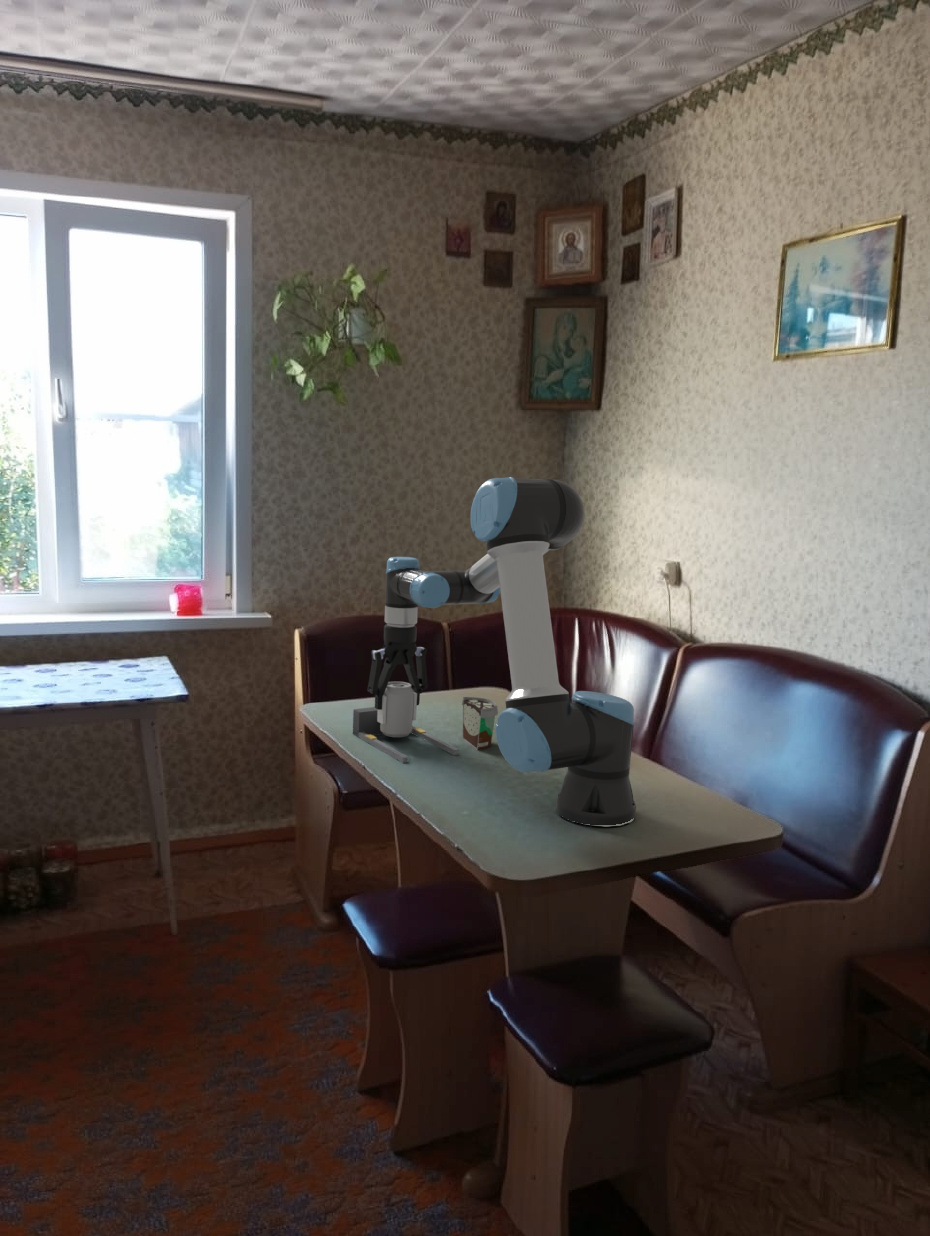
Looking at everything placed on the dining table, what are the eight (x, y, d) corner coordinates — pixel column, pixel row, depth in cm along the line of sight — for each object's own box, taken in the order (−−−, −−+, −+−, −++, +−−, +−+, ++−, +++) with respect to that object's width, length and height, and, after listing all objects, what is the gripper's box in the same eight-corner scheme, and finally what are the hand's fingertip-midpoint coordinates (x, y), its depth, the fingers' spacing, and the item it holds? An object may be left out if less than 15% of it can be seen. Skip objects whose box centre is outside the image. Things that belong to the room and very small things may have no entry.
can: (414, 730, 228) (416, 681, 226) (409, 739, 220) (411, 688, 218) (383, 728, 228) (385, 679, 226) (377, 736, 221) (379, 686, 219)
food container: (504, 750, 220) (507, 708, 219) (479, 752, 218) (482, 709, 217) (483, 735, 232) (486, 695, 230) (460, 736, 229) (462, 696, 228)
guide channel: (459, 754, 215) (460, 728, 215) (402, 762, 207) (403, 736, 206) (405, 727, 235) (406, 703, 234) (352, 733, 227) (353, 709, 226)
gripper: (429, 619, 229) (425, 712, 232) (353, 623, 218) (350, 721, 221) (446, 624, 223) (442, 720, 226) (369, 629, 211) (365, 729, 215)
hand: (396, 720), depth 224 cm, fingers closed on can, 7 cm apart
